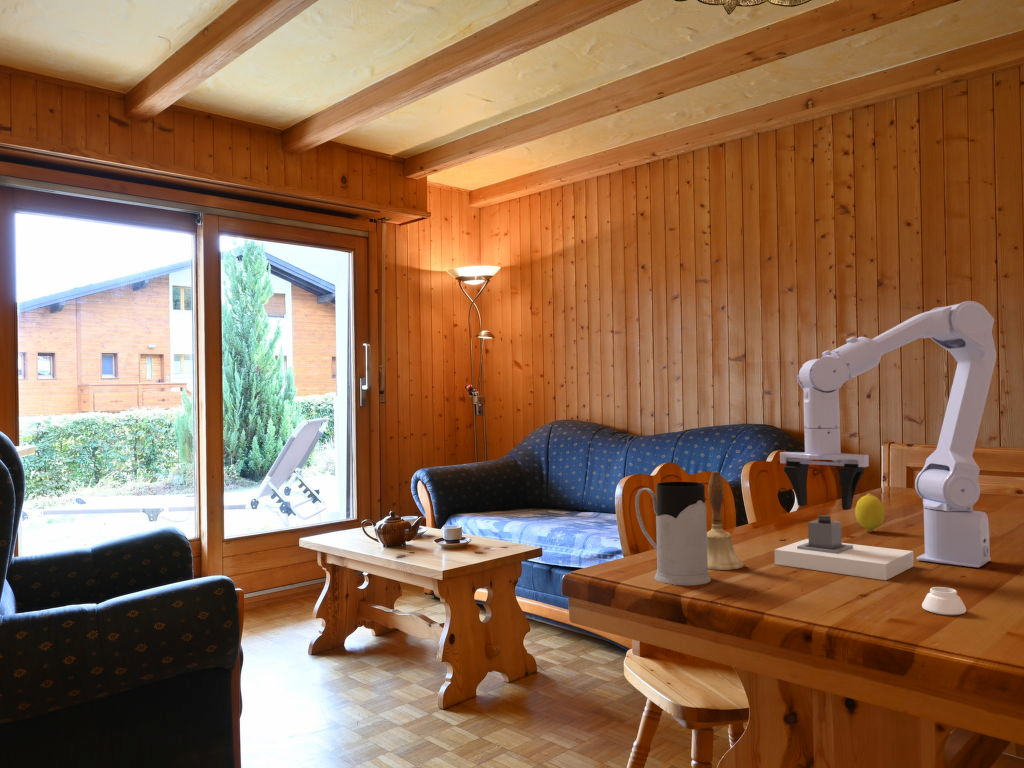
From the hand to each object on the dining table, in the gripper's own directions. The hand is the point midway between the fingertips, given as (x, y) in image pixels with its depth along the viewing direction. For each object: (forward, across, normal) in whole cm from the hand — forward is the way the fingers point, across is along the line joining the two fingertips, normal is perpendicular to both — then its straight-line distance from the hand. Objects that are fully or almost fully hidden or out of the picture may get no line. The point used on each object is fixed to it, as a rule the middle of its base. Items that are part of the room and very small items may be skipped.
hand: (824, 507), depth 131 cm
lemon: (+10, -5, +35) cm, 37 cm away
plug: (+10, 0, 0) cm, 10 cm away
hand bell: (+10, -13, -13) cm, 21 cm away
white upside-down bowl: (+10, +23, -19) cm, 32 cm away
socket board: (+10, +3, 0) cm, 10 cm away
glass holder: (+10, -15, -25) cm, 31 cm away
